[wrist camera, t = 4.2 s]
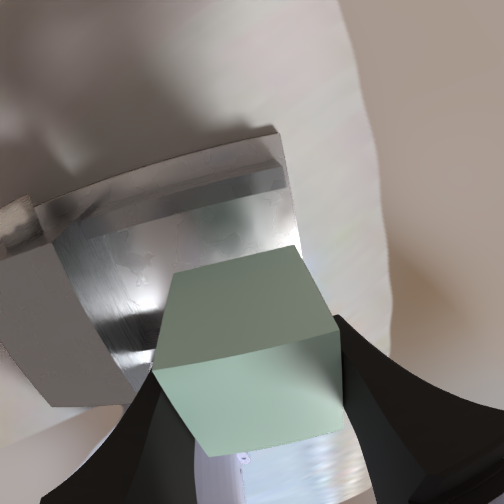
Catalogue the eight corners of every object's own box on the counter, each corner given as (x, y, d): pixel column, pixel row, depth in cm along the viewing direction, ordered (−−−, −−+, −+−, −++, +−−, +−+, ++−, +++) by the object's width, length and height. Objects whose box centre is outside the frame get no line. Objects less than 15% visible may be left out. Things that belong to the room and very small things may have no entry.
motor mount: (309, 317, 21) (333, 377, 16) (75, 362, 21) (55, 416, 16) (274, 114, 15) (301, 118, 10) (-6, 208, 15) (-57, 244, 10)
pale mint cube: (309, 337, 15) (343, 429, 10) (208, 360, 15) (208, 456, 10) (294, 244, 13) (339, 329, 8) (173, 273, 13) (151, 370, 8)
